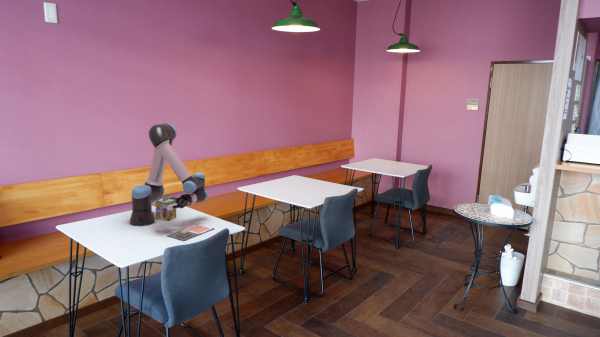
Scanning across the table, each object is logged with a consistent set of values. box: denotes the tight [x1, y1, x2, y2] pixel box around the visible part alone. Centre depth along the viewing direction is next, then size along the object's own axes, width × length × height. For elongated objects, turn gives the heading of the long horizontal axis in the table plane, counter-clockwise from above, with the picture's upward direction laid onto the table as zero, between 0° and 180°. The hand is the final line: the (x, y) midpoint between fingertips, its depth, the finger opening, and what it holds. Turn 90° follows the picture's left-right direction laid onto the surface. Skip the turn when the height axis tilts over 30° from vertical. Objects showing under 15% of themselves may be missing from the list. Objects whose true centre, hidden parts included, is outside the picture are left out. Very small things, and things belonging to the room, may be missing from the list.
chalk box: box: [155, 193, 177, 222], centre depth 238 cm, size 9×9×15 cm
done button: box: [179, 229, 187, 235], centre depth 232 cm, size 4×4×2 cm
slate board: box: [166, 223, 215, 242], centre depth 240 cm, size 14×26×2 cm, turn 151°
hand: (161, 206), depth 234 cm, fingers closed on chalk box, 11 cm apart
